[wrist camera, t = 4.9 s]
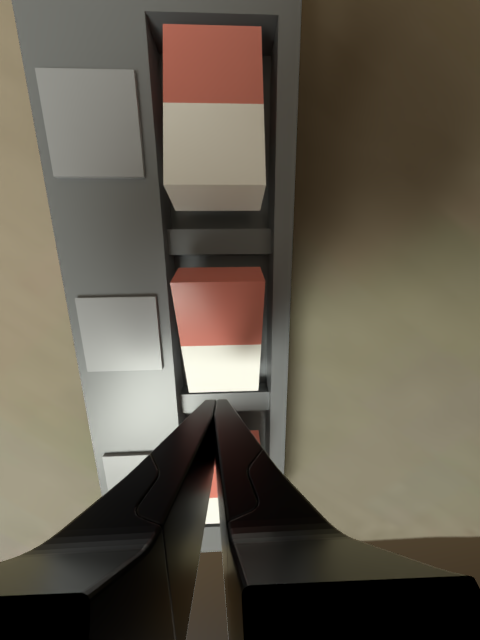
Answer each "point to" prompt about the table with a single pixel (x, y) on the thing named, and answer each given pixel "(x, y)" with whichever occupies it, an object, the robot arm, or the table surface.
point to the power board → (153, 213)
